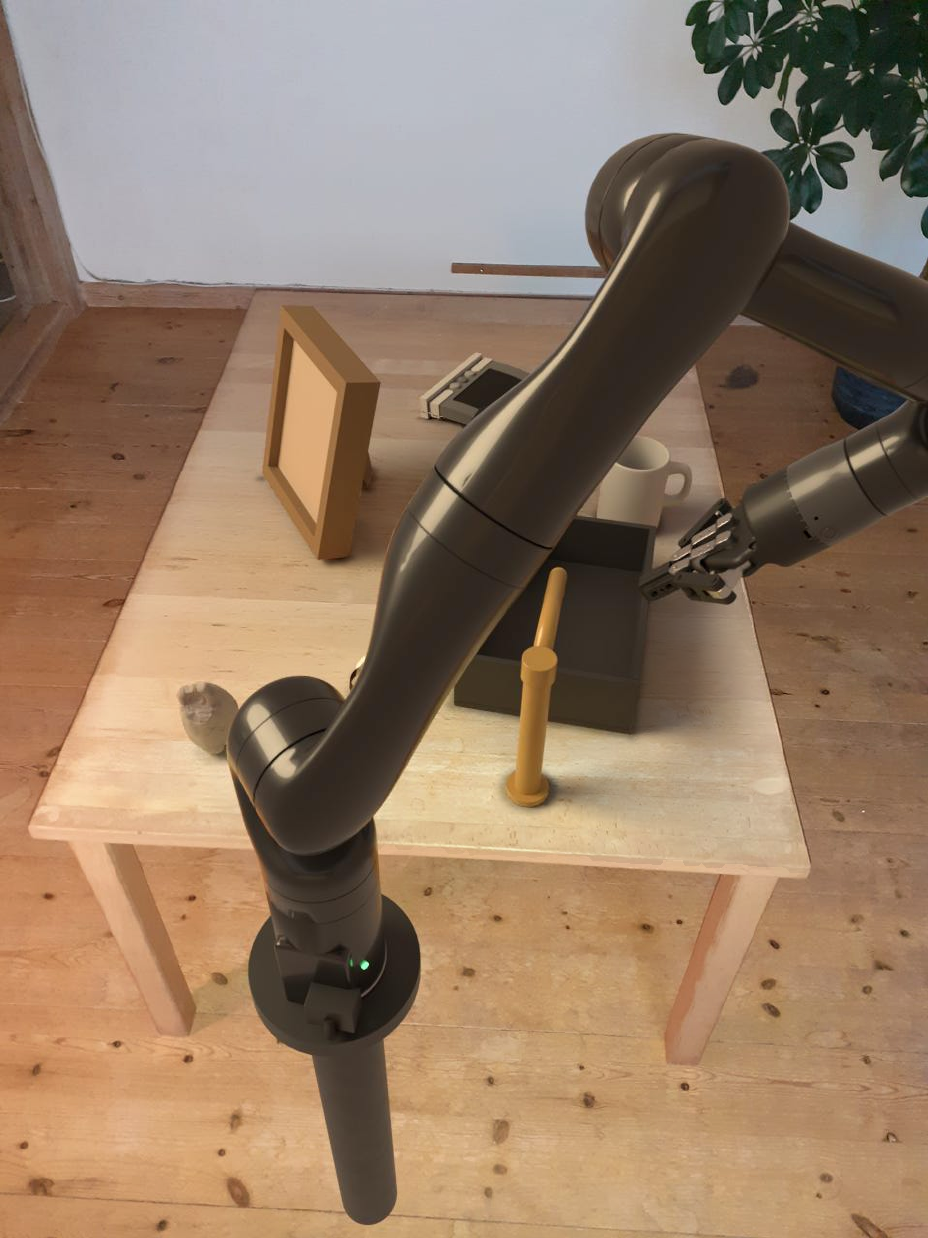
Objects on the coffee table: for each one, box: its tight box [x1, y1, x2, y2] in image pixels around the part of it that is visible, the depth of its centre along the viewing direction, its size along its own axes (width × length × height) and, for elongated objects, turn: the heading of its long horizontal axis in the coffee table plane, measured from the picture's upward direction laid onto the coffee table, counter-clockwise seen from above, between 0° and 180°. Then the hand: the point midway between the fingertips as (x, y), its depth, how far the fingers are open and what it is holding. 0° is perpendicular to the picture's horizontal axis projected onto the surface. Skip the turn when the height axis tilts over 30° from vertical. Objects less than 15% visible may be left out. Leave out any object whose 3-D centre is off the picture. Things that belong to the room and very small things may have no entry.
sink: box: [453, 514, 657, 735], centre depth 115 cm, size 28×20×8 cm
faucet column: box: [505, 683, 551, 808], centre depth 95 cm, size 4×4×17 cm
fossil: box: [176, 681, 240, 755], centre depth 101 cm, size 6×4×10 cm, turn 111°
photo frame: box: [261, 304, 382, 561], centre depth 127 cm, size 15×22×25 cm
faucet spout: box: [521, 567, 567, 689], centre depth 94 cm, size 16×3×5 cm, turn 168°
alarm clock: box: [419, 352, 531, 426], centre depth 155 cm, size 17×5×16 cm
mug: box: [596, 435, 693, 530], centre depth 131 cm, size 12×8×11 cm
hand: (643, 590), depth 90 cm, fingers closed
